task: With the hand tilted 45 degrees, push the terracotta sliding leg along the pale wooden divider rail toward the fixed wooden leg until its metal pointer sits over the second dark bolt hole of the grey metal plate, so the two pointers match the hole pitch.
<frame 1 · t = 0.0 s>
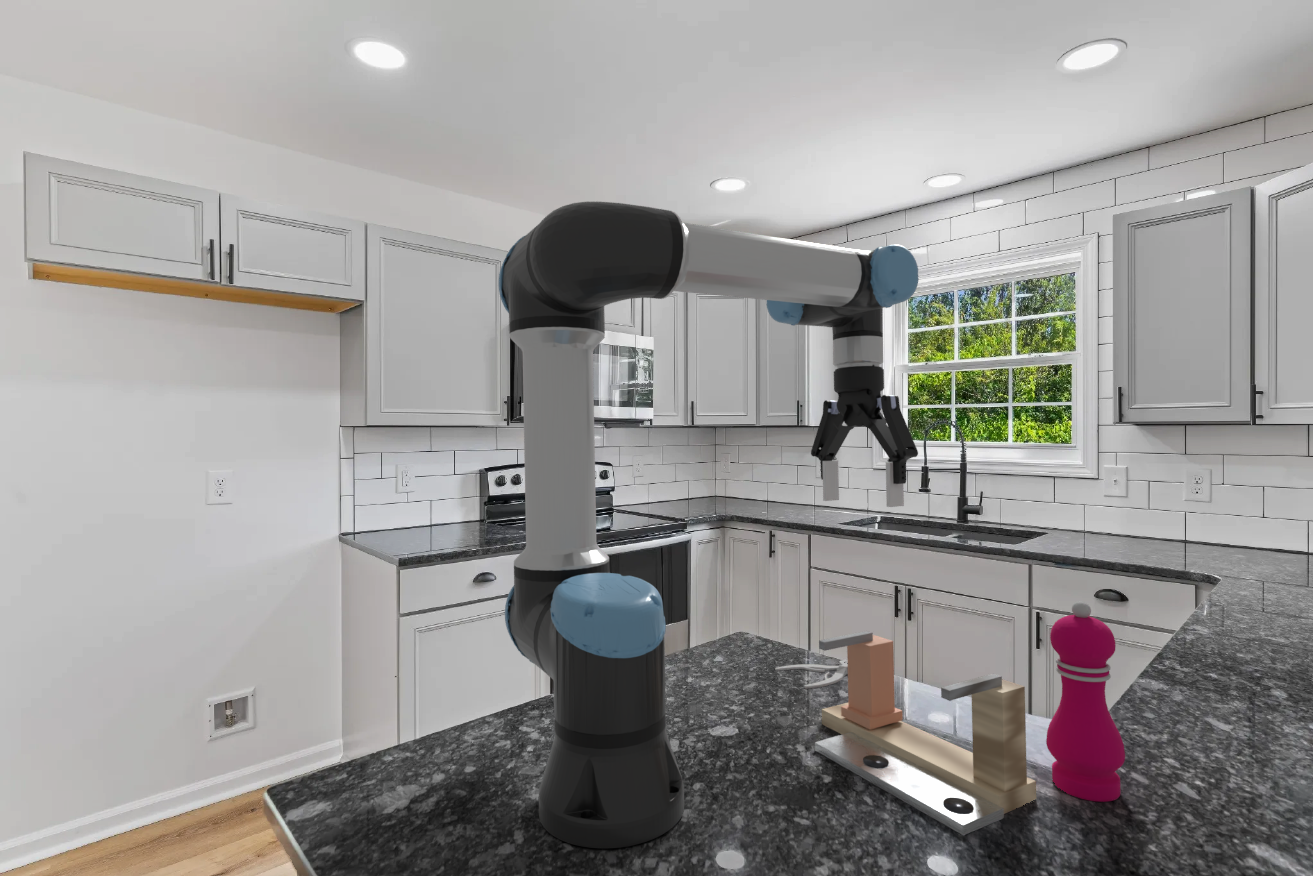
hand: (861, 503, 107), 28 cm above the counter, tool pointing down, fingers open, 13 cm apart
pepper mill: (1085, 789, 74), on the counter
hole plate: (899, 780, 76), on the counter
pliers: (830, 676, 112), on the counter
divider rail: (916, 757, 82), on the counter
slide leg: (855, 678, 87), point 8 cm above the counter, slide at 0.0 cm
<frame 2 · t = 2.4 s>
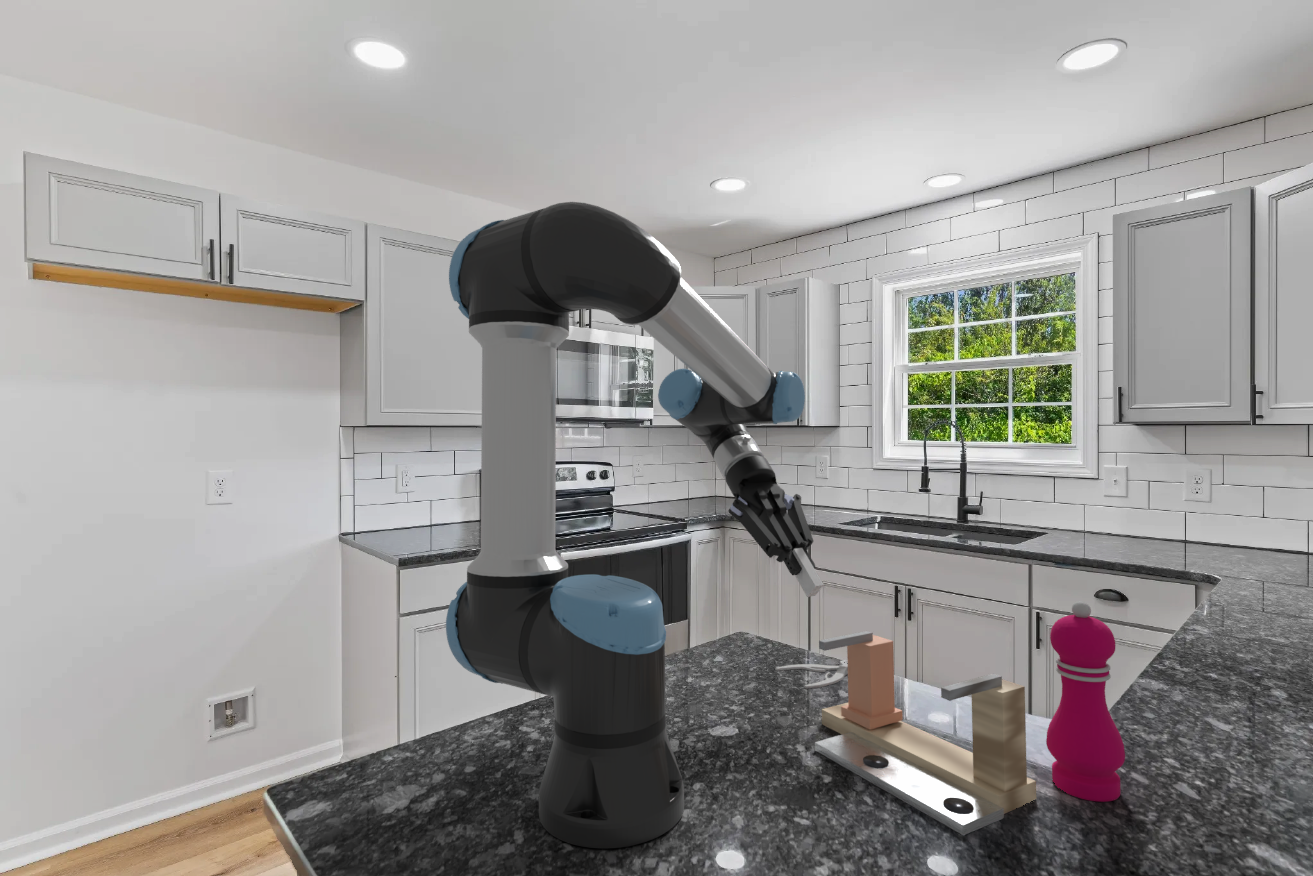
hand: (815, 590, 97), 17 cm above the counter, tool tilted 45°, fingers closed
nothing on the counter moved.
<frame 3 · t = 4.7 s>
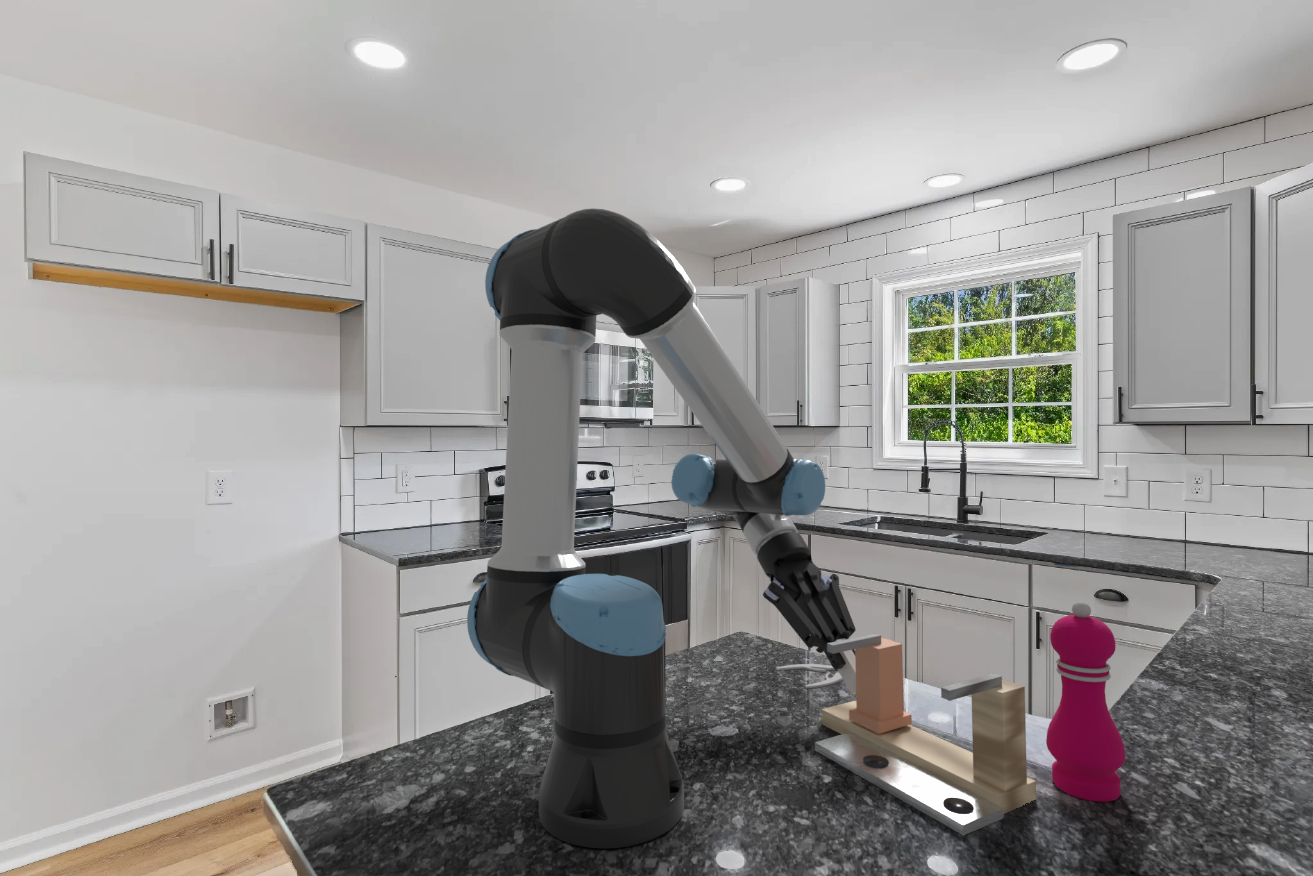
hand: (861, 688, 89), 6 cm above the counter, tool tilted 45°, fingers closed
slide leg: (863, 681, 85), point 8 cm above the counter, slide at 1.4 cm, touching gripper
everything else where it was.
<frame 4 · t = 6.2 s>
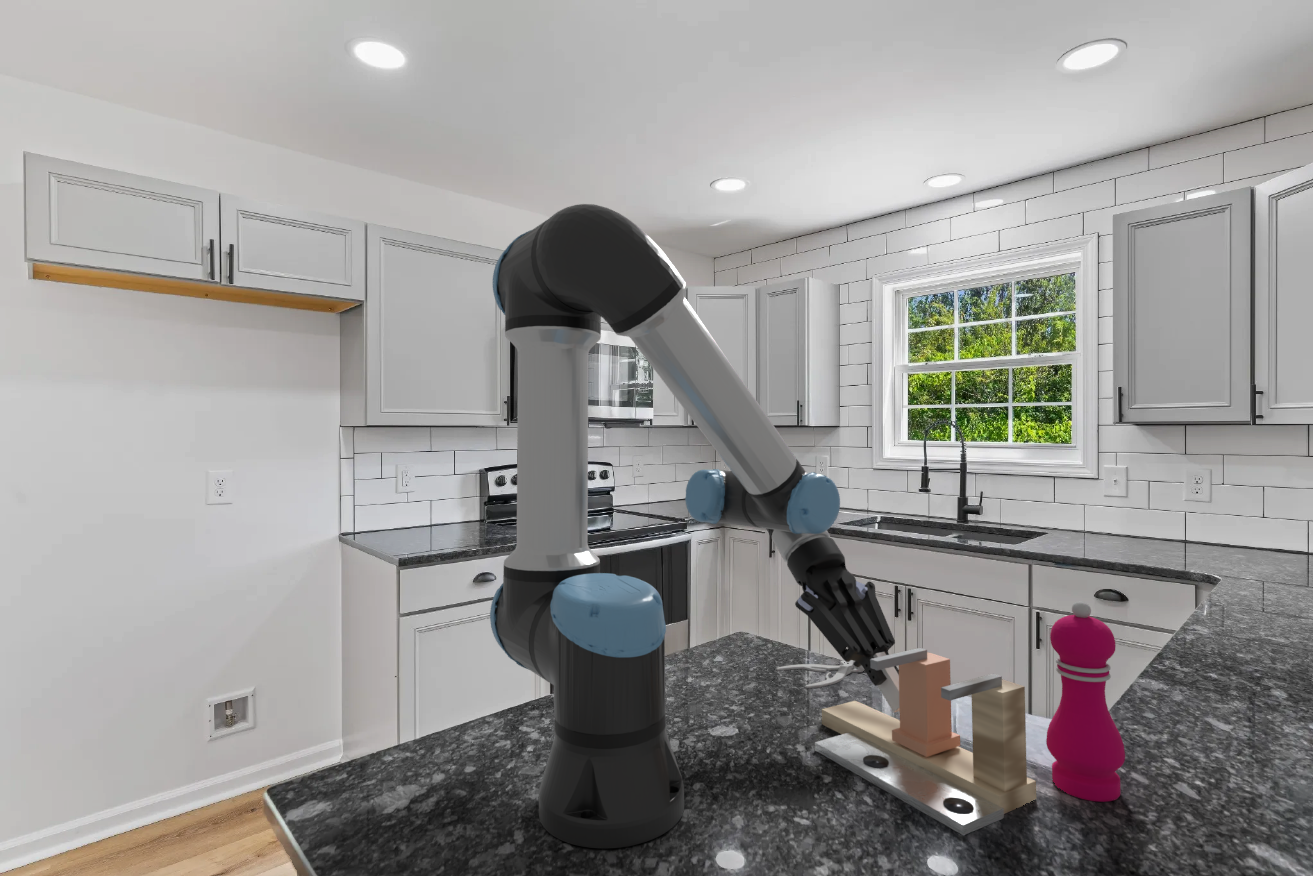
hand: (903, 706, 83), 6 cm above the counter, tool tilted 45°, fingers closed
slide leg: (909, 700, 79), point 8 cm above the counter, slide at 8.5 cm, touching gripper
everything else where it was.
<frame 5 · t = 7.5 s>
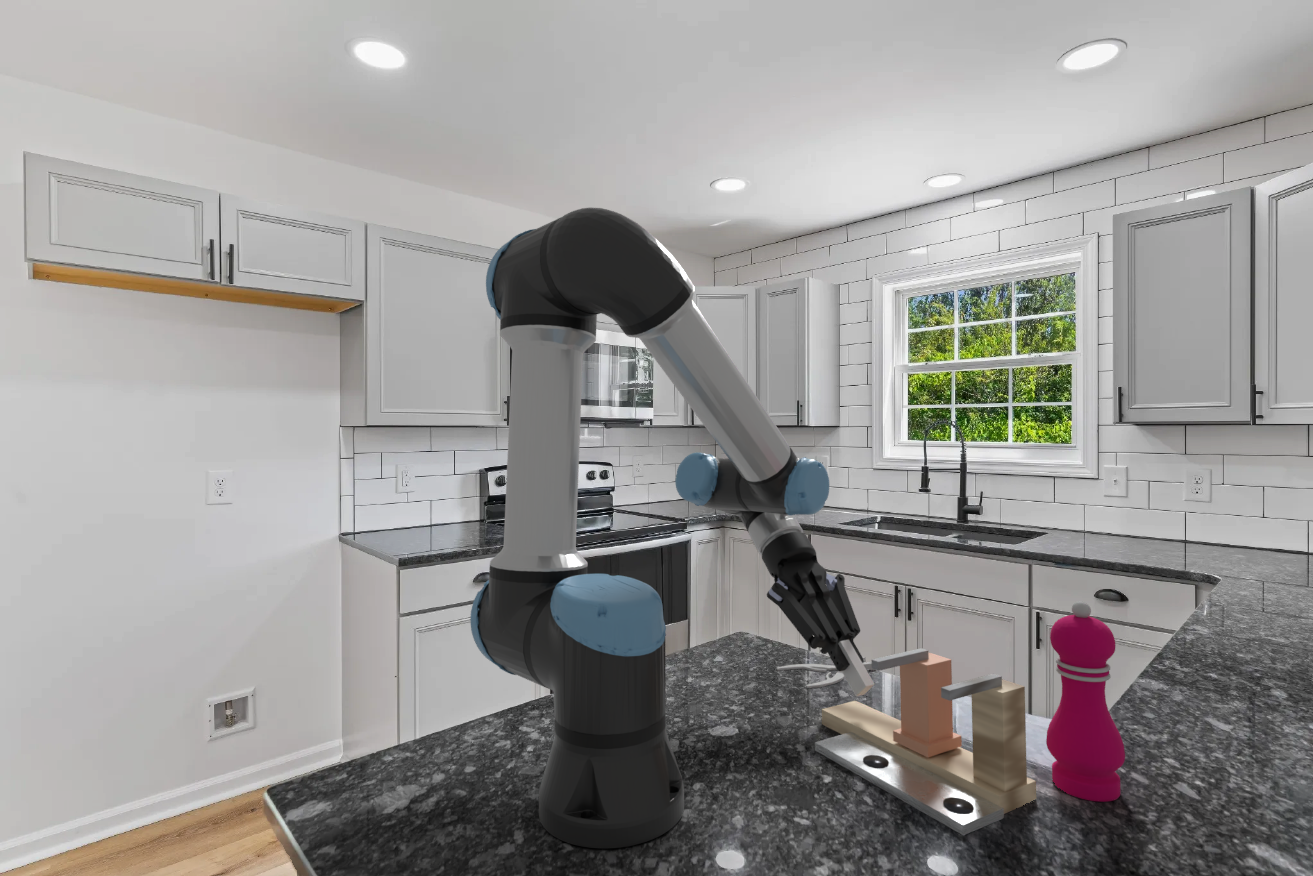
hand: (865, 690, 88), 6 cm above the counter, tool tilted 45°, fingers closed
slide leg: (910, 700, 79), point 8 cm above the counter, slide at 8.7 cm
everything else where it was.
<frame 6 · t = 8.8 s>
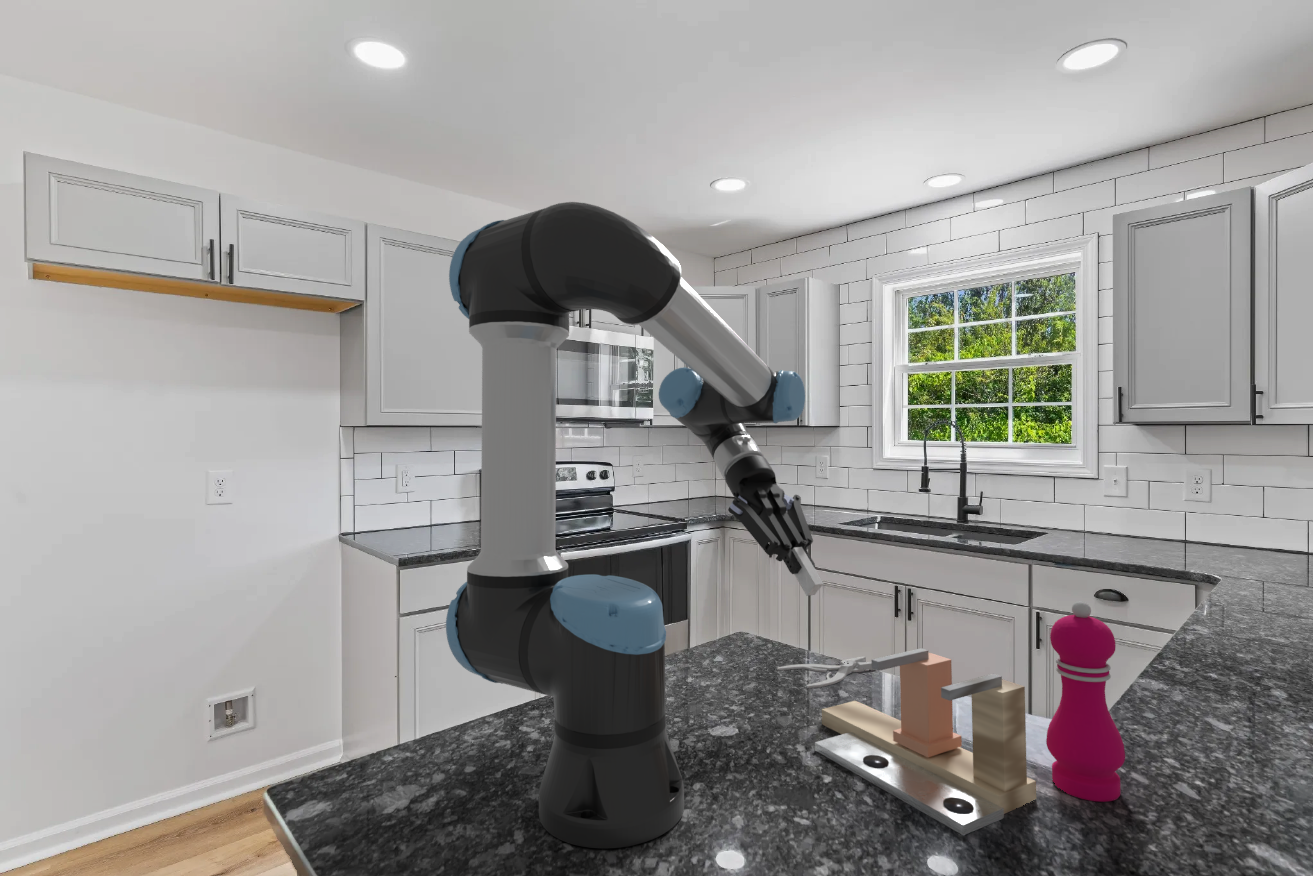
hand: (815, 589, 97), 17 cm above the counter, tool tilted 45°, fingers closed
nothing on the counter moved.
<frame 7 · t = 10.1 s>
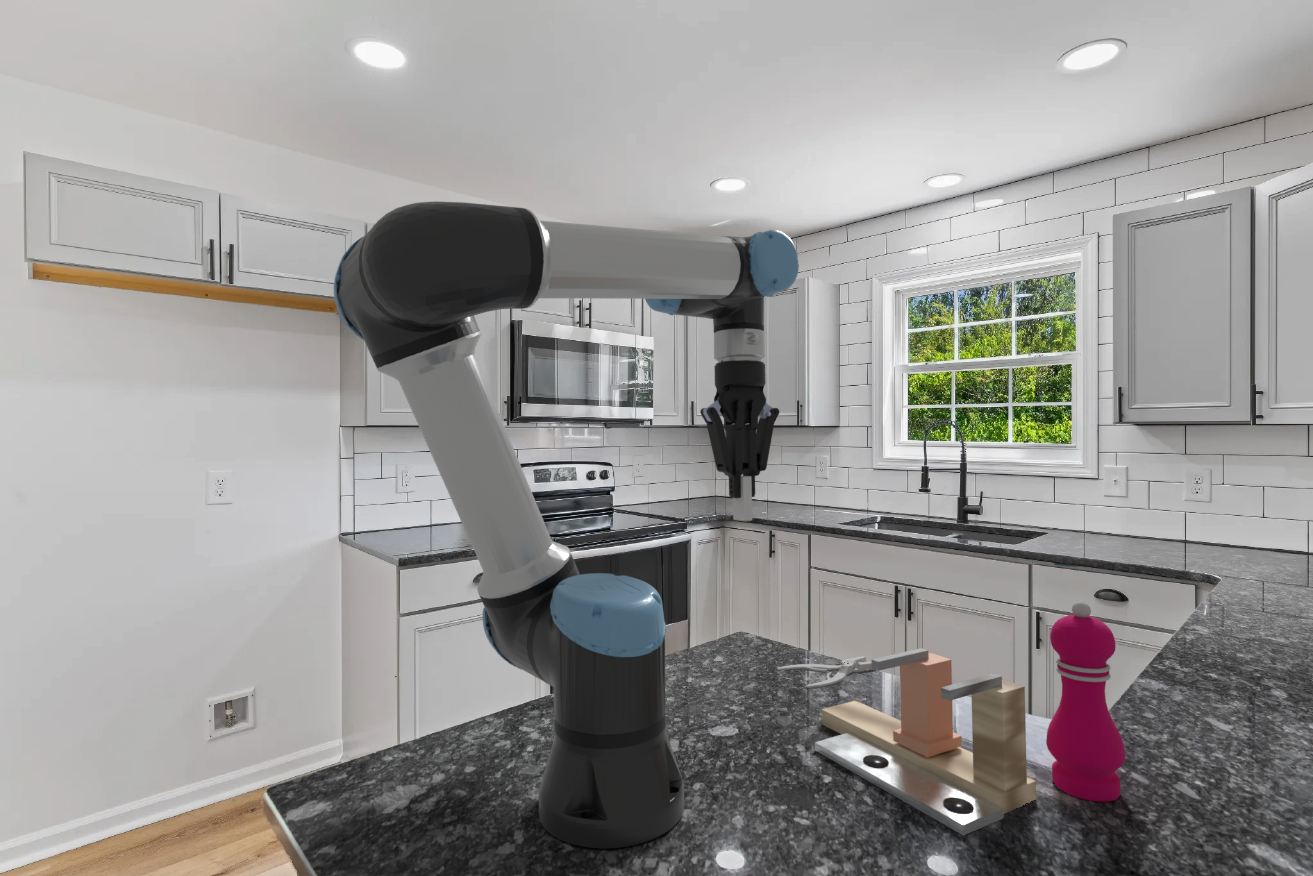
hand: (742, 519, 102), 26 cm above the counter, tool pointing down, fingers closed
nothing on the counter moved.
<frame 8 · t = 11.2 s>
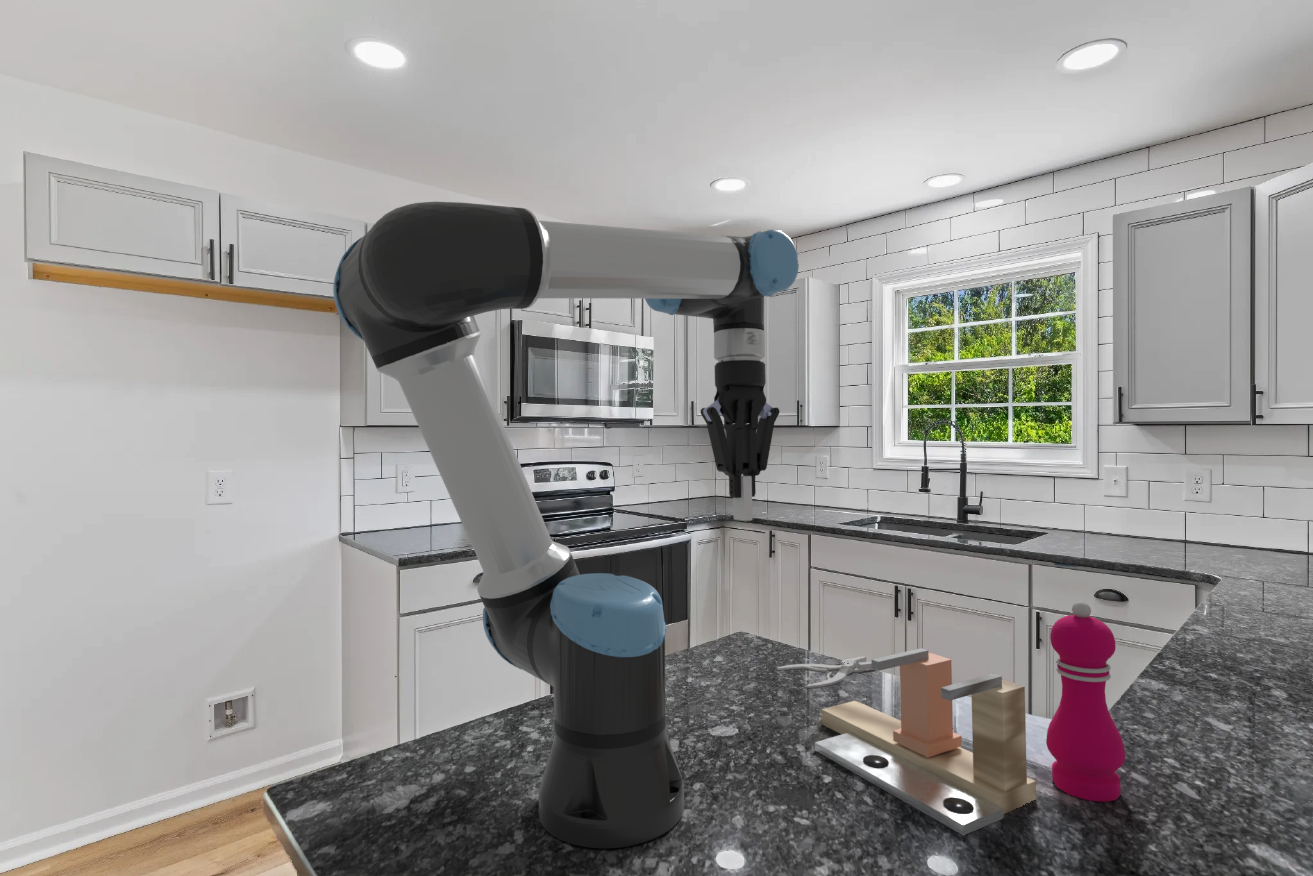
hand: (742, 519, 102), 26 cm above the counter, tool pointing down, fingers closed
nothing on the counter moved.
at the end: slide leg slide at 8.7 cm; slide leg 1.7 cm from the target spot, resting on divider rail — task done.
